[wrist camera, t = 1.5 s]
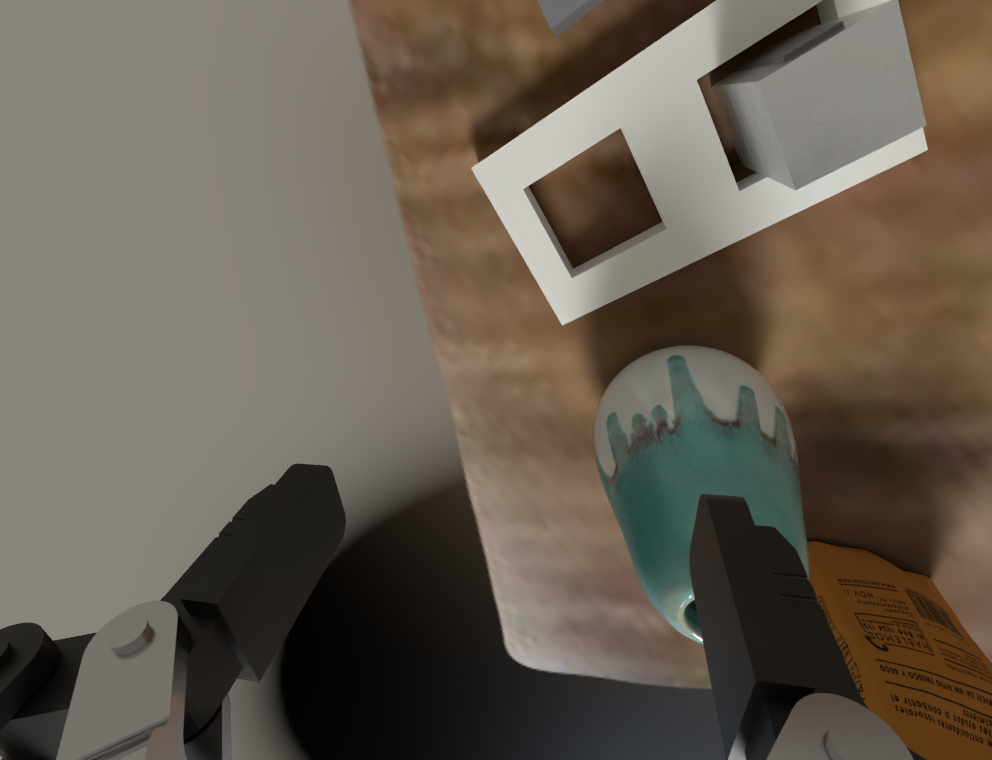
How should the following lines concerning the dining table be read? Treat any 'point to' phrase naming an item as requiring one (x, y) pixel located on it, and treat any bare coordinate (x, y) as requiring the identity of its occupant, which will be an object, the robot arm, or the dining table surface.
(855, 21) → the block
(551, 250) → the white slotted plate
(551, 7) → the tray
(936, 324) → the dining table surface
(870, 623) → the coffee package
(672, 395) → the vase
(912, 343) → the dining table surface
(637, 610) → the dining table surface
